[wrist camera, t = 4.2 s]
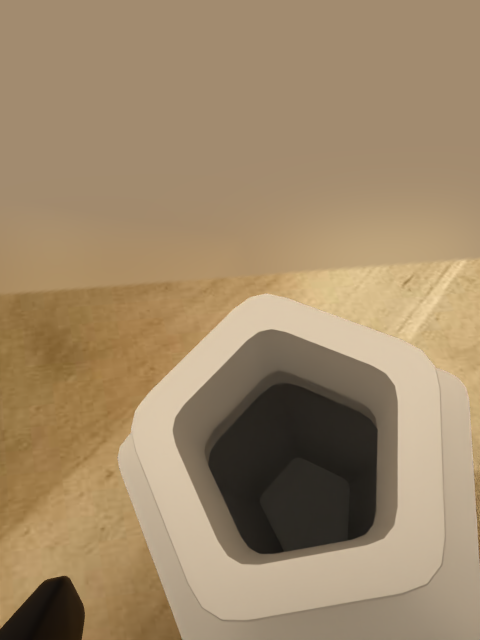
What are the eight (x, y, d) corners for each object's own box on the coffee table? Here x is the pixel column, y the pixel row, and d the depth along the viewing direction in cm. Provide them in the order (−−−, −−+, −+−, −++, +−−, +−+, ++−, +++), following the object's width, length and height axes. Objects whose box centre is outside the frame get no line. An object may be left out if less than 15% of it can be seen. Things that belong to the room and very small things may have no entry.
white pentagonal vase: (252, 437, 18) (66, 168, 4) (365, 451, 17) (572, 171, 3) (235, 566, 16) (-179, 799, 2) (360, 588, 15) (766, 1132, 2)
